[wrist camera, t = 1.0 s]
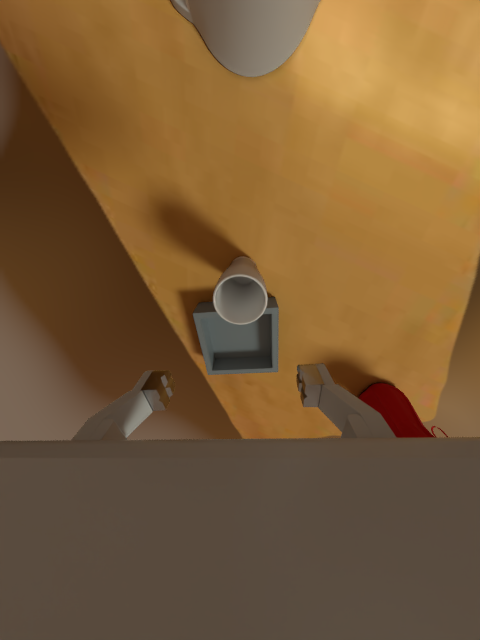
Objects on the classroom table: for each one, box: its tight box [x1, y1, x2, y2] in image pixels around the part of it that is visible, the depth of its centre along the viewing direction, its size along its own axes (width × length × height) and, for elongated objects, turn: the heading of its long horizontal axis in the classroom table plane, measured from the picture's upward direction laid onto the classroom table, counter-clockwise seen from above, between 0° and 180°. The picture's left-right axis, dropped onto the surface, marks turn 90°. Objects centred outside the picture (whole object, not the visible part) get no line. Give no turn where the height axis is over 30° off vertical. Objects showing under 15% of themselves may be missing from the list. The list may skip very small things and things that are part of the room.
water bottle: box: [359, 383, 448, 438], centre depth 38 cm, size 9×11×25 cm
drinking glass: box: [213, 256, 268, 325], centre depth 28 cm, size 7×7×15 cm
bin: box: [193, 297, 278, 375], centre depth 39 cm, size 16×16×5 cm
